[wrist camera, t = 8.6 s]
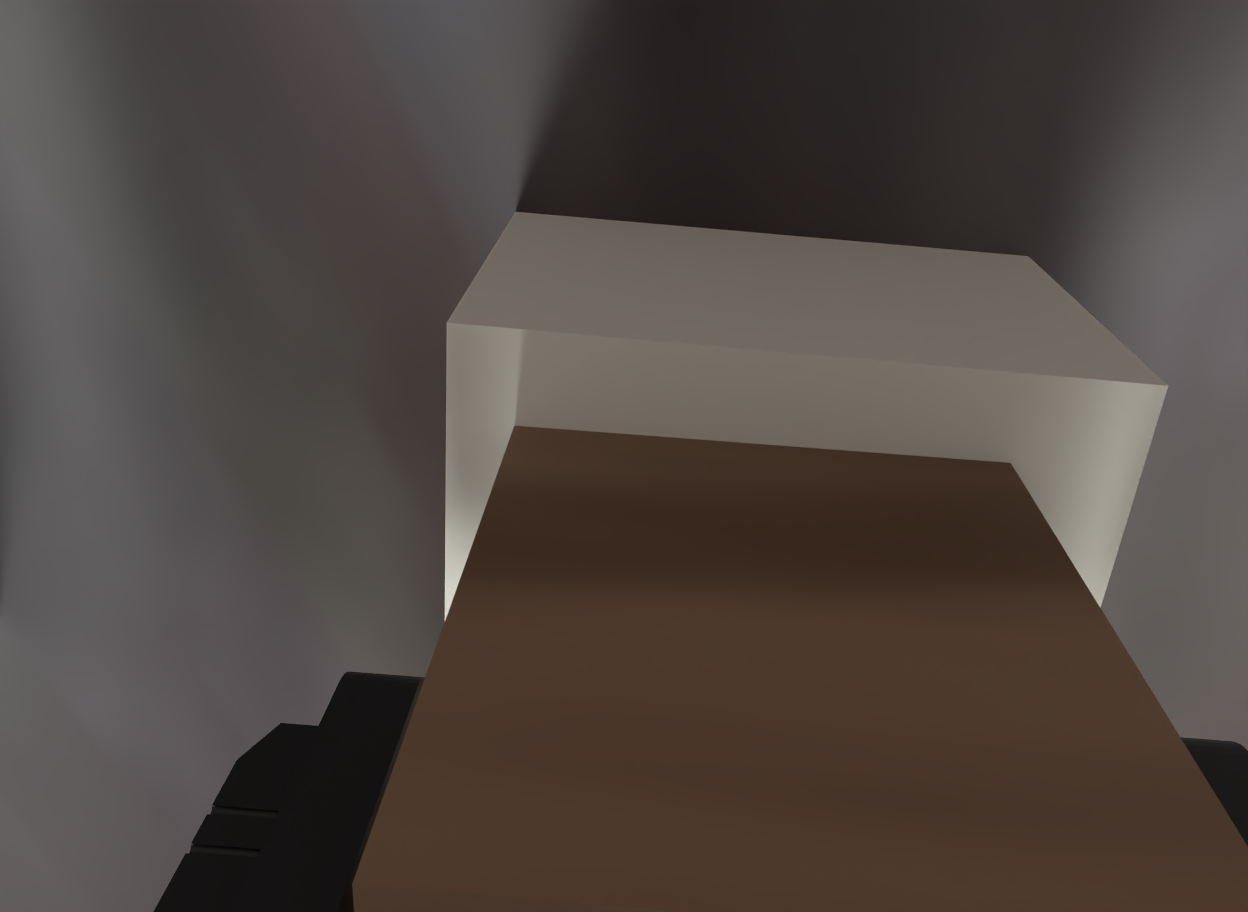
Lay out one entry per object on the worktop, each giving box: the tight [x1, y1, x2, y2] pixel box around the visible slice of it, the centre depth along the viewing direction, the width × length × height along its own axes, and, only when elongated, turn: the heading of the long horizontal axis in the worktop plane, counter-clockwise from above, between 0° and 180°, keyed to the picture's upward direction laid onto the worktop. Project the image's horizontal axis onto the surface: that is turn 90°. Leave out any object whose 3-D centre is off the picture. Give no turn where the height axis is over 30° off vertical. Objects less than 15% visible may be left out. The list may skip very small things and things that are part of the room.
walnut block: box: [352, 426, 1248, 912], centre depth 9 cm, size 5×5×6 cm
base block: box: [445, 212, 1168, 620], centre depth 14 cm, size 7×7×5 cm
